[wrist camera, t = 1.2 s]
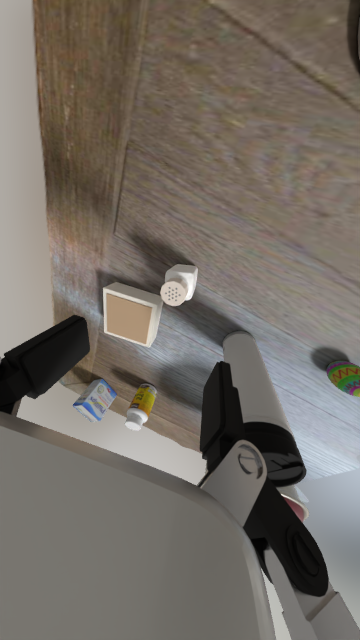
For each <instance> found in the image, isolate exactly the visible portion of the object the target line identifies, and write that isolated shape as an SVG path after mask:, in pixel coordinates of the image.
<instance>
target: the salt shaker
mask: <svg viewBox="0 0 360 640" xmlns="http://www.w3.org/2000/svg"><path fill="white" fill-rule="evenodd" d="M197 272H198V269H197V267H196V266H192V265H182V264H177V265H175V266H173V267H172V268H170V269H169V270H168V271H167V272H166V274H165V284H164V285H163V286H162V288H161V291H160V294H161V297H162V299H163V301H164V302H165V303H166V304H168V305H171V306H179V305H180V304H181V303H183V302H184V300H190V299H191V298H192V295H193V293H194V290H195V287H196V281H197Z"/></svg>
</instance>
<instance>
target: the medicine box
mask: <svg viewBox="0 0 360 640" xmlns="http://www.w3.org/2000/svg"><path fill="white" fill-rule="evenodd" d="M116 395H117V393H116V392H115V391H114V390H113V389H112V388H111V387H110V386H109V385H108V384H107V383H106V382H105V381H104V379H98V380H94V381H93V382H92V383H91V384H90V385H89V387H88V388H87V389H86V390H85V391H84V392H83V394H82V395H81V396H80V397H79V398H78V400H77V401H76V402H75V403H74V404H73V407H75V408H76V409H77V410H78V411H79V412H80V413H81V414H82V415H84V416H85V417H86V418H87V419H88V420H89V421H90V422H98V421H101V419H102V417H103V416H104V414H105V413H106V411H107V409H108V408H109V406H110V405H111V403H112V402H113V400H114V399H115V397H116Z"/></svg>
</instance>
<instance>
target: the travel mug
mask: <svg viewBox="0 0 360 640" xmlns="http://www.w3.org/2000/svg"><path fill="white" fill-rule="evenodd" d="M223 354H224V362H226V363H230V367H231V374H232V382H233V386H234V387H236V388H237V389H238V392H239V398H240V404H241V410H242V417H243V423H244V429H245V435H246V441H248V442H250V443H252V444H253V445H254V446H255V447H256V448H257V449H258V450H259V452H260V453H261V455H262V457H263V459H264V461H265V464H266V468H267V476H268V478H269V479H270V480H271V482H272V483H273V484H274V486H275V487H276V488H281V487H287V486H291V485H294V484H296V483H298V482H300V481H301V480H302V479H303V478H304V477H305V475H306V468H305V466H304V463H303V460H302V458H301V455H300V452H299V450H298V448H297V445H296V442H295V439H294V435H293V433H292V431H291V429H290V426H289V423H288V421H287V418H286V416H285V413H284V411H283V408H282V406H281V403H280V401H279V398H278V396H277V393H276V391H275V388H274V386H273V383H272V381H271V378H270V376H269V374H268V371H267V369H266V366H265V364H264V361H263V359H262V356H261V354H260V351H259V349H258V346H257V344H256V341H255V339H254V337H253V336H252V335H251V334H249V333H247V332H243V331H235V332H232V333H230V334H228V335H227V336H226V337H225V338H224V340H223Z"/></svg>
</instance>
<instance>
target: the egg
mask: <svg viewBox="0 0 360 640" xmlns="http://www.w3.org/2000/svg"><path fill="white" fill-rule="evenodd" d="M327 376H328V378H329V379H330V381H331V382H332V383H333V384H334V385H335V386H336V387H337V388H339V389H340V390H342V391H343V392H345V393H347V394H350V395H353V396H357V397H360V367H359V366H357V365H355V364H353V363H350V362H347V361H335V362H332V363H331V364H329V365H328V367H327Z"/></svg>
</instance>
